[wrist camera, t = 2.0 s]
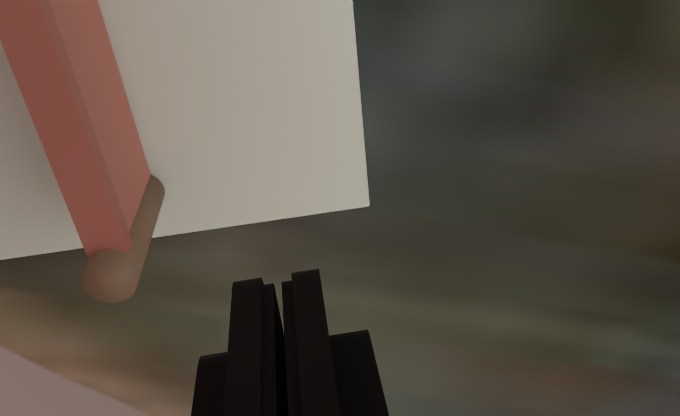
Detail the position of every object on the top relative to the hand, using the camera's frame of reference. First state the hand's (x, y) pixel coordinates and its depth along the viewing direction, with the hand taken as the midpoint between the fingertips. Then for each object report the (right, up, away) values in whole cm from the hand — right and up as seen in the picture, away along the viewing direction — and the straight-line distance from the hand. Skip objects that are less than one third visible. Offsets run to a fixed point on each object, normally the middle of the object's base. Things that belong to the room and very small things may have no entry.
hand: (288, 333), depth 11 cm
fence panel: (-8, +7, +12) cm, 16 cm away
